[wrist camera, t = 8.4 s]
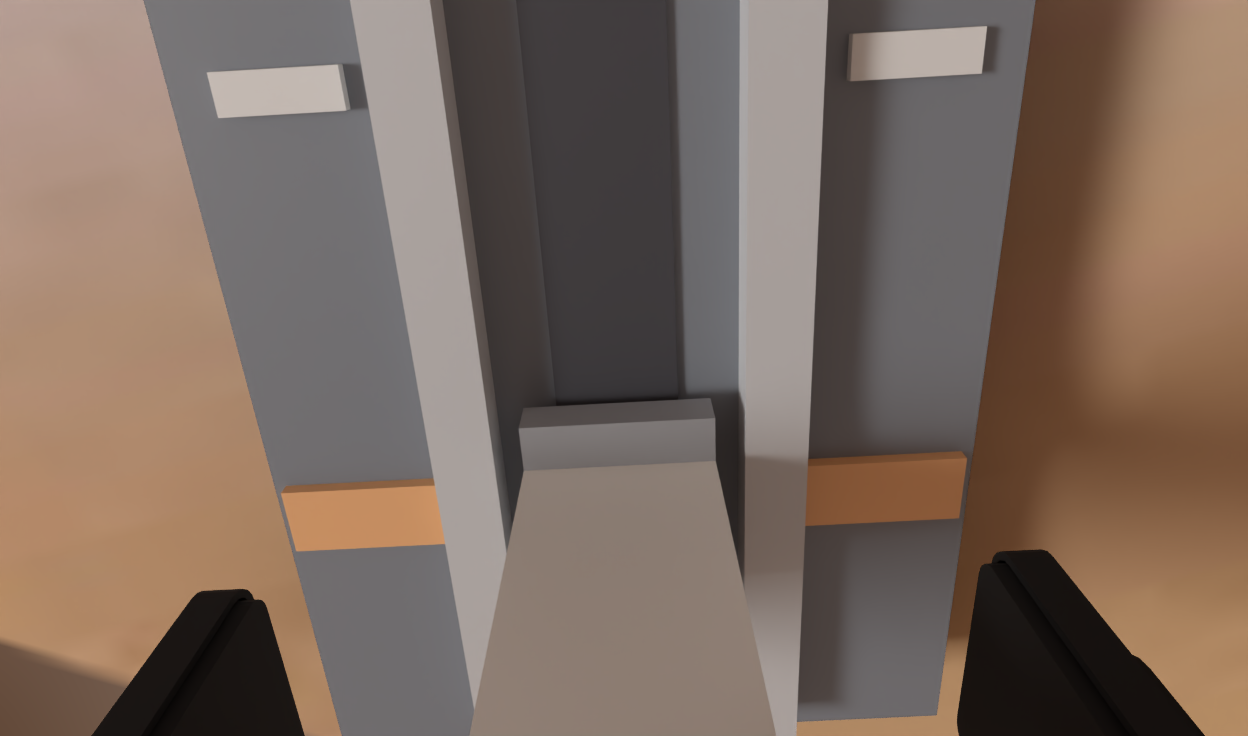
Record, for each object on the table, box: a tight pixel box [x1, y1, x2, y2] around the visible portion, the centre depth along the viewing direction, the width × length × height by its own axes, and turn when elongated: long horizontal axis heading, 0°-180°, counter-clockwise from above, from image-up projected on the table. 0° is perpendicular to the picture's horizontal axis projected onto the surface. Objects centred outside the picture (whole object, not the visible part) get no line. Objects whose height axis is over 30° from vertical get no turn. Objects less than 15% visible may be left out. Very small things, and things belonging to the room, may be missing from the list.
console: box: [144, 0, 1036, 736], centre depth 12 cm, size 23×12×3 cm, turn 4°
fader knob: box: [469, 398, 776, 736], centre depth 11 cm, size 4×3×7 cm
